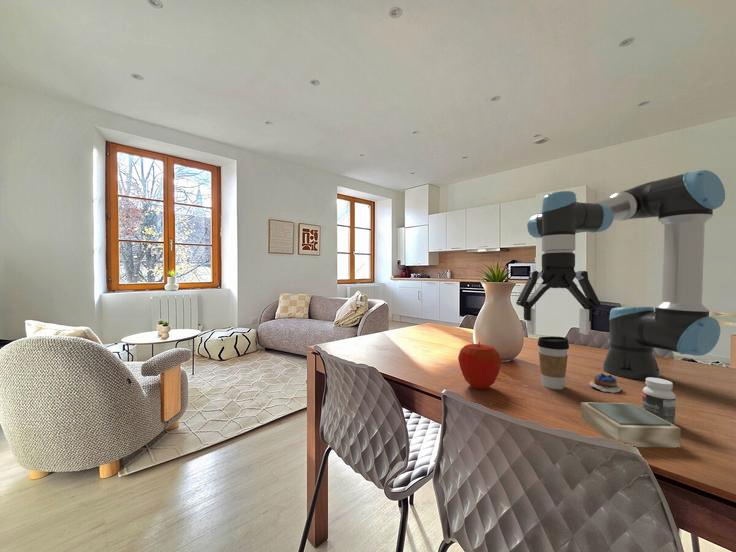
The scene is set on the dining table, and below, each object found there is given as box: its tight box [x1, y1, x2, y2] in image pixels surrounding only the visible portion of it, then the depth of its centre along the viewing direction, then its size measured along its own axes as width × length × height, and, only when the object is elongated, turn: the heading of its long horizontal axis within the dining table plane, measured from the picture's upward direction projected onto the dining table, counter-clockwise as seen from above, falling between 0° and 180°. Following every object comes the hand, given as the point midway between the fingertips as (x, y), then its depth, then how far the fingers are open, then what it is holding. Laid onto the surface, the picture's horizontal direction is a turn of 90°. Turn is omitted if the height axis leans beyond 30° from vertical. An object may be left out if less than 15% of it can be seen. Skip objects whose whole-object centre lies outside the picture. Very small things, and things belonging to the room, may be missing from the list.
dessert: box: [589, 372, 622, 394], centre depth 94 cm, size 8×7×6 cm
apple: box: [457, 341, 502, 391], centre depth 96 cm, size 12×12×14 cm
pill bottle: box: [641, 377, 677, 426], centre depth 73 cm, size 6×6×10 cm
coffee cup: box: [537, 336, 570, 390], centre depth 97 cm, size 8×8×15 cm
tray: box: [580, 401, 682, 449], centre depth 69 cm, size 12×12×4 cm
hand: (557, 333), depth 82 cm, fingers open, 13 cm apart
